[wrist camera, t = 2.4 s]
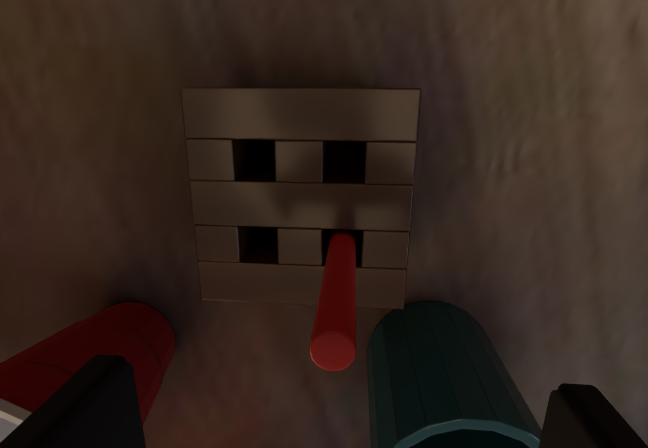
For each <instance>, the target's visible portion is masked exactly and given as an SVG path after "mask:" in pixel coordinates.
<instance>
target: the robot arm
mask: <svg viewBox="0 0 648 448" xmlns="http://www.w3.org/2000/svg"><path fill="white" fill-rule="evenodd" d="M0 448H146V446H145V439H144V433H143V427H142V420H141V414H140V408H139V402H138V395H137V389H136V383H135V377H134V370H133V366H132V364H131V363H127V359H126V358H125V357H124V356H121V355H105V354H98V355H95V356H94V357H92V358H91V359H90V360H89V361H88V362H87V363H86V364H85V365H84V366H82V367H81V368H80V369H79V370H78V371H77V372H76V373H75V374H74V375H73V376H72V377H71V378H69V379H68V380H67V381H66V382H65V383H64V384H63V385H62V386H61V387H60V388H59V389H58V390H57V391H55V392H54V393H53V394H52V395H51V396H50V397H49V398H48V399H47V400H46V401H45V402H44V403H42V404H41V405H40V406H39V407H38V408H37V409H36V410H35V411H34V412H33V413H32V414H31V415H29V416H28V417H27V418H26V419H25V420H24V421H23V422H22V423H21V424H20V425H19V426H18V427H17V428H15V429H14V430H13V431H12V432H11V433H10V434H9V435H8V436H7V437H6V438H5V439H4V440H2V441H1V442H0ZM539 448H648V446H647V445H646V444H645V443H644V442H643V440H642V439H641V438H640V437H639V436H638V435H637V434H636V432H635V431H634V430H633V429H632V428H631V427H630V426H629V424H628V423H627V422H626V421H625V420H624V419H623V418H622V416H621V415H620V414H619V413H618V412H617V411H616V409H615V408H614V407H613V406H612V405H611V404H610V403H609V401H608V400H607V399H606V398H605V397H604V396H603V395H602V393H601V392H600V391H599V390H598V389H597V388H596V387H594V386H592V385H581V384H565V383H564V384H561V385H560V386H559V388H558V390H553V391H552V392H551V394H550V397H549V402H548V406H547V411H546V416H545V420H544V425H543V429H542V434H541V439H540V443H539Z"/></svg>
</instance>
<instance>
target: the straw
mask: <svg viewBox="0 0 648 448" xmlns="http://www.w3.org/2000/svg"><path fill="white" fill-rule="evenodd" d="M309 350H310V355H311V358H312V360H313V361H314V362H315V363H316V364H317V365H318V366H319V367H321V368H323V369H325V370H329V371H339V370H342V369H345V368H347V367H348V366H349V365H350V364H351V363H352V362H353V360H354V359H355V356H356V230H350V229H332V232H331V237H330V242H329V247H328V253H327V258H326V263H325V268H324V274H323V279H322V284H321V290H320V295H319V300H318V305H317V311H316V316H315V321H314V326H313V332H312V337H311V342H310V349H309Z"/></svg>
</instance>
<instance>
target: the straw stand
mask: <svg viewBox="0 0 648 448" xmlns="http://www.w3.org/2000/svg"><path fill="white" fill-rule="evenodd" d="M180 90H181V100H182V110H183V120H184V131H185V138H186V139H185V143H186V153H187V163H188V173H189V179H190V181H189V182H190V192H191V202H192V212H193V222H194V224H195V225H194V231H195V241H196V251H197V260H198V272H199V282H200V292H201V300H216V301H237V302H258V303H280V304H301V305H318V300H319V295H320V290H321V284H322V279H323V274H324V268H325V263H326V258H327V253H328V247H329V242H330V237H331V232H332V229H350V230H356V307H364V308H385V309H404V300H405V287H406V275H407V269H406V268H407V263H408V250H409V238H410V232H409V231H410V226H411V213H412V201H413V188H414V186H413V184H414V176H415V163H416V151H417V142H416V141H417V138H418V126H419V113H420V101H421V89H420V88H276V87H181V88H180ZM263 140H275V141H274V148H275V163H264V145H263ZM331 141H363V159H362V165H338V164H331Z"/></svg>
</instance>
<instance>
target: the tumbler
mask: <svg viewBox="0 0 648 448" xmlns="http://www.w3.org/2000/svg"><path fill="white" fill-rule="evenodd" d="M367 376H368V397H369V419H370V440H371V448H539V443H540V439H541V434H542V430H541V428H540V426H539V425H538V423H537V421H536V420H535V418H534V416H533V414H532V413H531V411H530V409H529V407H528V406H527V404H526V402H525V401H524V399H523V397H522V395H521V394H520V392H519V390H518V388H517V387H516V385H515V383H514V381H513V380H512V378H511V376H510V375H509V373H508V371H507V369H506V368H505V366H504V364H503V362H502V361H501V359H500V357H499V355H498V354H497V352H496V350H495V349H494V347H493V345H492V343H491V342H490V340H489V338H488V336H487V335H486V333H485V331H484V330H483V328H482V327H481V326H480V324H479V323H478V322H477V321H476V320H475V319H474V318H473V317H472V316H471V315H470V314H468V313H467V312H465V311H464V310H462V309H460V308H458V307H456V306H453V305H450V304H447V303H442V302H434V301H424V302H416V303H412V304H408V305H405V306H404V309H396V310H394V311H393V312H391V313H390V314H388V315H387V316H386V317H385V318H383V319H382V320H381V321H380V323H379V324H378V325H377V326H376V328H375V329H374V331H373V333H372V335H371V337H370V340H369V343H368V349H367Z"/></svg>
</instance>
